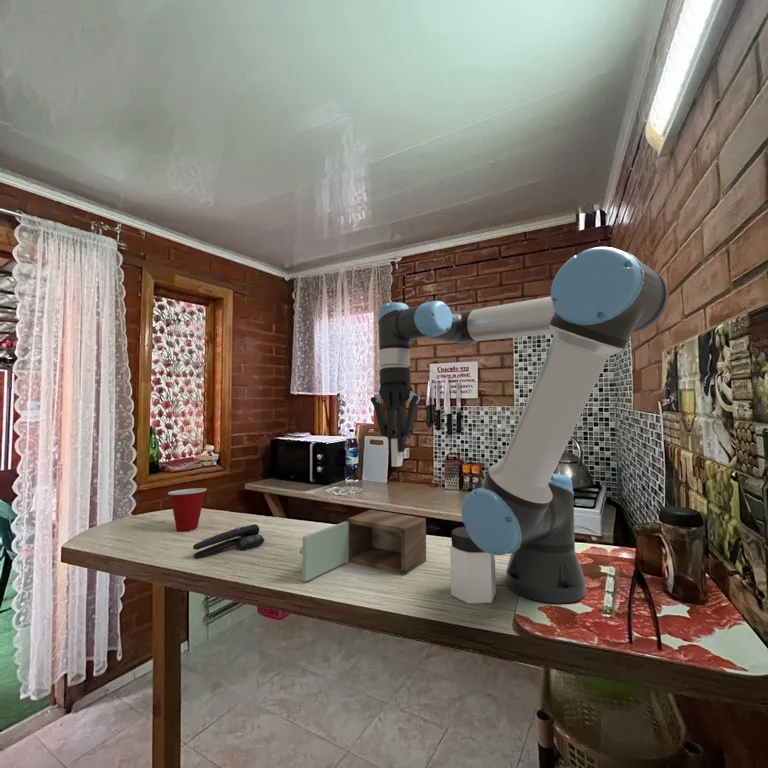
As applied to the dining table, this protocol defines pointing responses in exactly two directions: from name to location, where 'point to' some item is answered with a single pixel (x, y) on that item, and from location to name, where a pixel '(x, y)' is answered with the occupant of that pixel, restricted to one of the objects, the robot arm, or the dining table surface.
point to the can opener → (230, 541)
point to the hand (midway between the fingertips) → (397, 465)
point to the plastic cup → (187, 507)
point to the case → (387, 541)
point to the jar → (471, 570)
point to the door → (325, 550)
